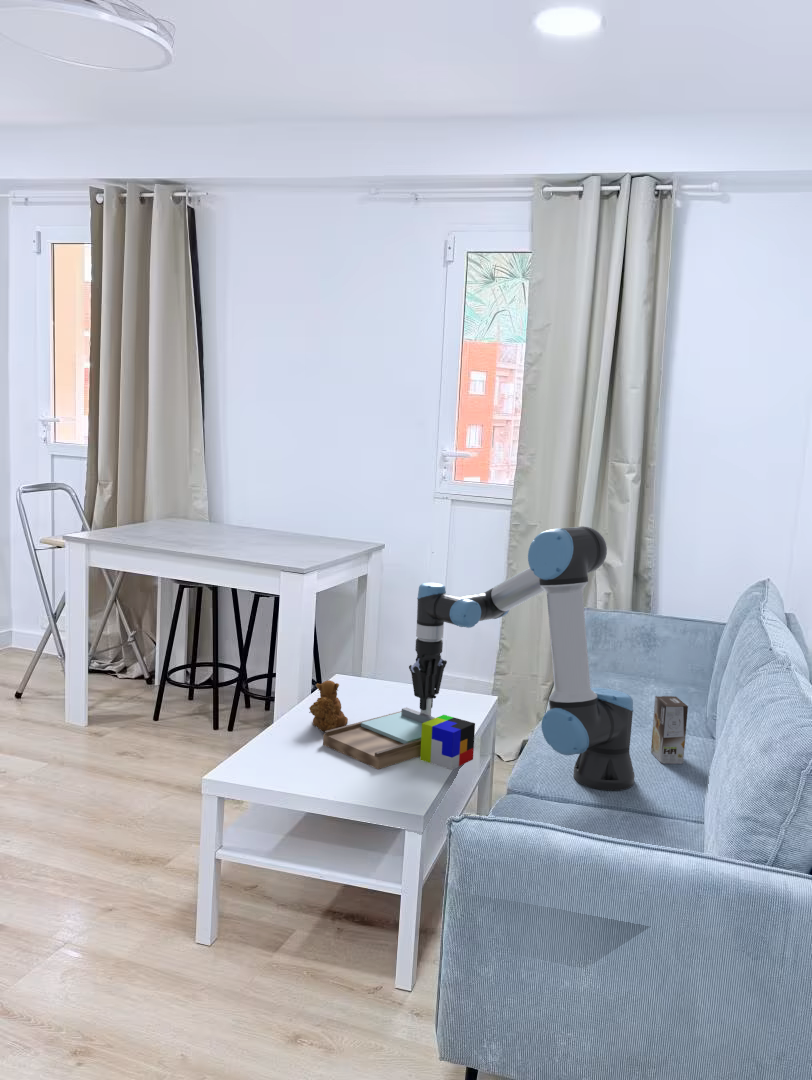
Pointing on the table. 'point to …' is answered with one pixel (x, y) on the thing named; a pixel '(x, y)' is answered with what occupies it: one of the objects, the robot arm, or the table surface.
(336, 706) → the brown furry figure
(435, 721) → the puzzle toy
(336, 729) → the wooden box
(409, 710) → the lid
